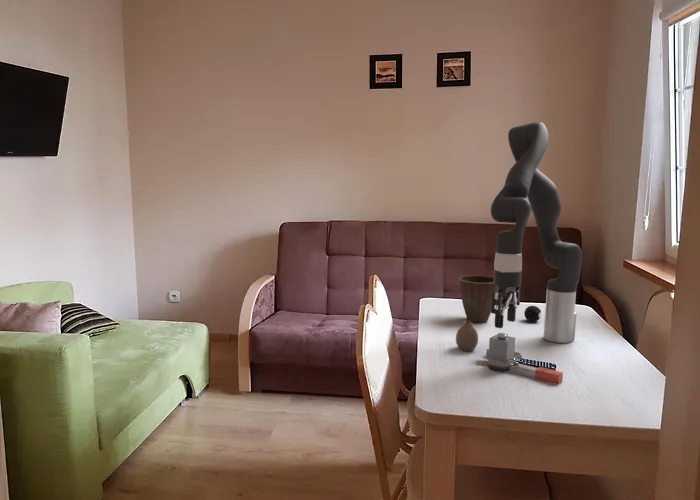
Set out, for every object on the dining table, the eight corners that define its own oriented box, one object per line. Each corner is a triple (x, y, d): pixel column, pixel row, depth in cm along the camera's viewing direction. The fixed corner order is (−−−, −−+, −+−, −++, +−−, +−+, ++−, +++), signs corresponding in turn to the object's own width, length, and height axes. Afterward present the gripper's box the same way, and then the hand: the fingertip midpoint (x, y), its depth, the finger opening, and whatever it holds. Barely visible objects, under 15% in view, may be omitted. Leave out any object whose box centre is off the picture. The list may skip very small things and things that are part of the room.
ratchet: (494, 362, 170) (495, 342, 170) (564, 379, 158) (566, 357, 157) (483, 368, 165) (485, 347, 164) (555, 386, 152) (557, 364, 151)
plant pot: (450, 321, 215) (453, 279, 212) (465, 313, 227) (467, 273, 225) (489, 328, 207) (492, 284, 205) (502, 319, 220) (504, 278, 217)
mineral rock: (484, 354, 171) (487, 340, 178) (483, 366, 173) (486, 352, 180) (521, 360, 168) (523, 345, 175) (520, 372, 170) (522, 357, 176)
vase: (477, 353, 178) (479, 326, 177) (455, 351, 180) (456, 324, 178) (477, 346, 185) (478, 320, 184) (455, 345, 186) (456, 318, 185)
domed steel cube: (496, 353, 169) (498, 330, 168) (514, 357, 166) (515, 334, 165) (488, 358, 165) (489, 334, 164) (506, 362, 161) (507, 338, 160)
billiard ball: (528, 318, 222) (529, 303, 221) (543, 321, 218) (544, 306, 217) (521, 321, 218) (522, 305, 217) (536, 324, 214) (537, 308, 213)
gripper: (505, 263, 169) (502, 317, 171) (484, 270, 158) (481, 327, 160) (530, 266, 164) (527, 321, 167) (510, 273, 153) (507, 332, 156)
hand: (505, 324), depth 164 cm, fingers open, 8 cm apart
